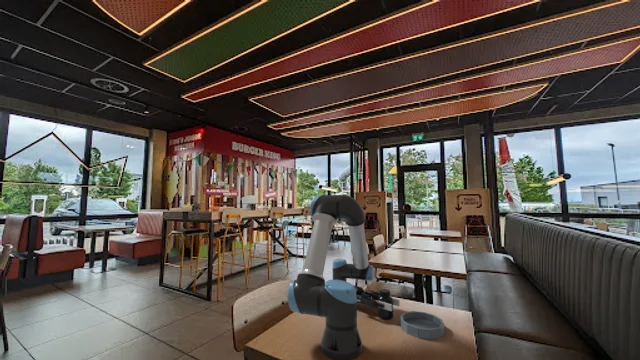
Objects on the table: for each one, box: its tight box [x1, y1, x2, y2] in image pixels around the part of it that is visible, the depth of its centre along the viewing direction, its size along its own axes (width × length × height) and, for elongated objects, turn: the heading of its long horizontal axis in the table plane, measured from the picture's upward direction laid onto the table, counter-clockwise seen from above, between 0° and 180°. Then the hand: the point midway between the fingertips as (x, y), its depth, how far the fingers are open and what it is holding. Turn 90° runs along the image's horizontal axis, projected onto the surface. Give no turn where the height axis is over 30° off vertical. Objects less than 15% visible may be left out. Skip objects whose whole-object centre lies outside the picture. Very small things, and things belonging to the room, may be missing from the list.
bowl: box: [400, 310, 445, 340], centre depth 112 cm, size 17×17×4 cm
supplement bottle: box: [377, 288, 394, 321], centre depth 123 cm, size 7×7×12 cm
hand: (395, 305), depth 120 cm, fingers closed on supplement bottle, 7 cm apart
